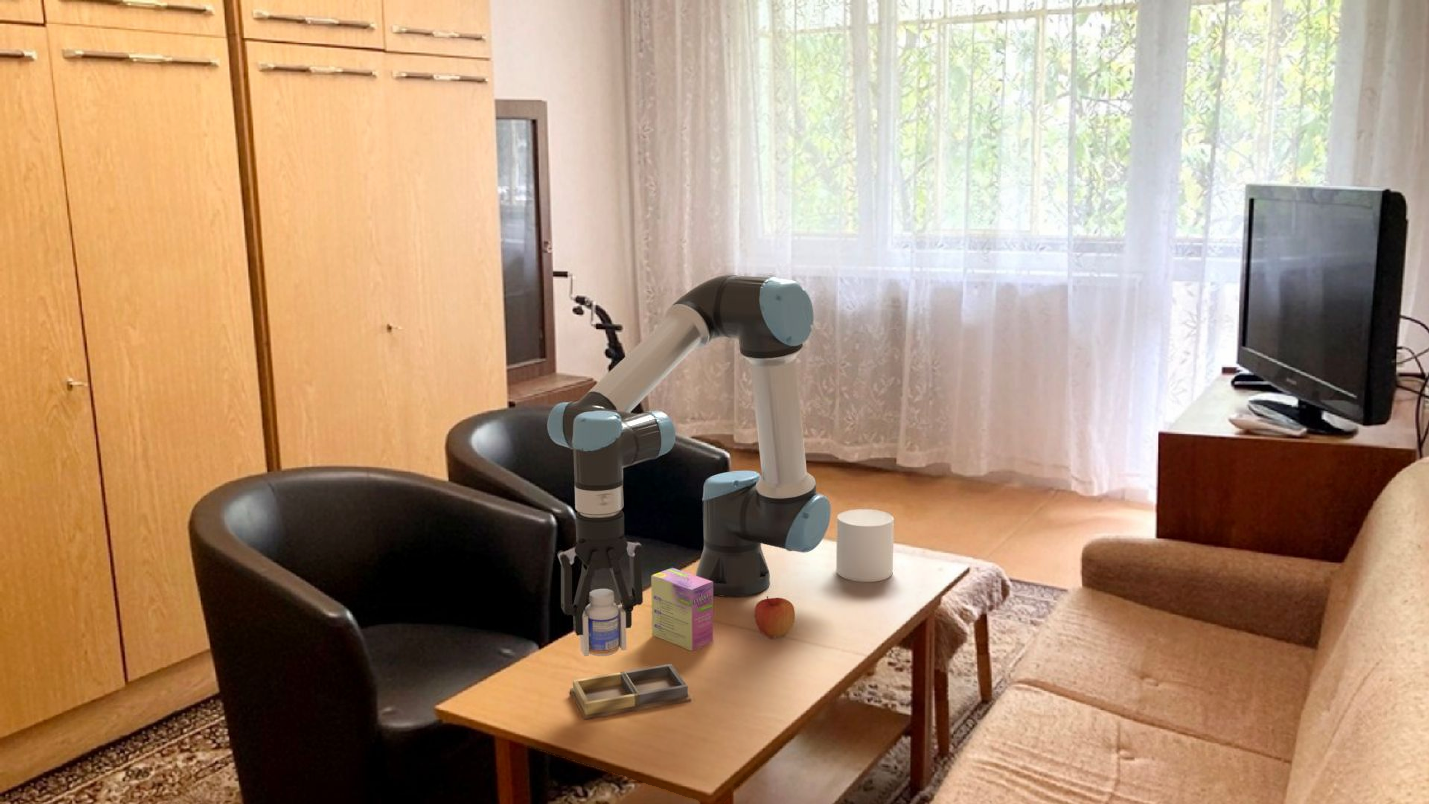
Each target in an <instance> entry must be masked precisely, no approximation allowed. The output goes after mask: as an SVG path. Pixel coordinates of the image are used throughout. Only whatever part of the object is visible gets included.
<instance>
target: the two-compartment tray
mask: <svg viewBox="0 0 1429 804" xmlns="http://www.w3.org/2000/svg"><path fill="white" fill-rule="evenodd" d="M569 691H570V693H571V696H572V697H573V699H574V701H575V703H576V706H577V707H578V709H579V711H580V713H581V715H582V718H584V720H591V719H597V718H601V717H607V716H613V715H618V714H619V715H620V714H624V713H630V712H635V711H642V710H646V709H652V708H657V707H663V706H669V705H674V704H675V705H676V704H680V703H681V704H682V703H686V702H691V701H692V697H691V695H690V694H689V692H688V691H689V689H688V685H687V684H686V682H685V681H684V680H683V678H682V677H681V675H680V674H679V673H678V671H677V670H676V669H675V667H674V666H673V665H672V663H668V664H663V665H655V666H649V667H643V668H639V669H632V670H625V671H619V672H614V673H609V674H602V675H596V676H589V677H583V678H578V679H573V680H572V688H570V689H569Z"/></svg>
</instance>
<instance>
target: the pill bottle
mask: <svg viewBox="0 0 1429 804" xmlns="http://www.w3.org/2000/svg"><path fill="white" fill-rule="evenodd" d="M588 596H589V597H588V602H589V604H588V605H586V606H585V609H584V612H585V613H586V615H587V616H588V633H589V655H592V656H597V657H607V656H612V655H614V654H616V653H617V652H618V651H619V649H620V647H619V608H618V606H619V605H617V604H616V603H615V592H614V591H613V590H612V589H609V588H598V589H593V590H592V591H589V593H588Z"/></svg>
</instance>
